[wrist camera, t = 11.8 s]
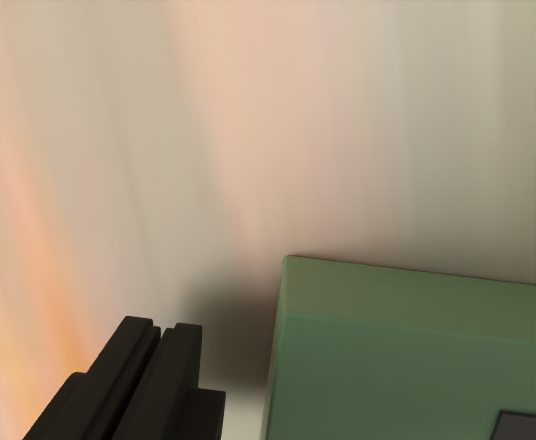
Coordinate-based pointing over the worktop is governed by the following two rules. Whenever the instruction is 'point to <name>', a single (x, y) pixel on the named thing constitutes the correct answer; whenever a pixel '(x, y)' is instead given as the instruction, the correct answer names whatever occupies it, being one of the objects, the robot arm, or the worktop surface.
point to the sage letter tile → (399, 356)
